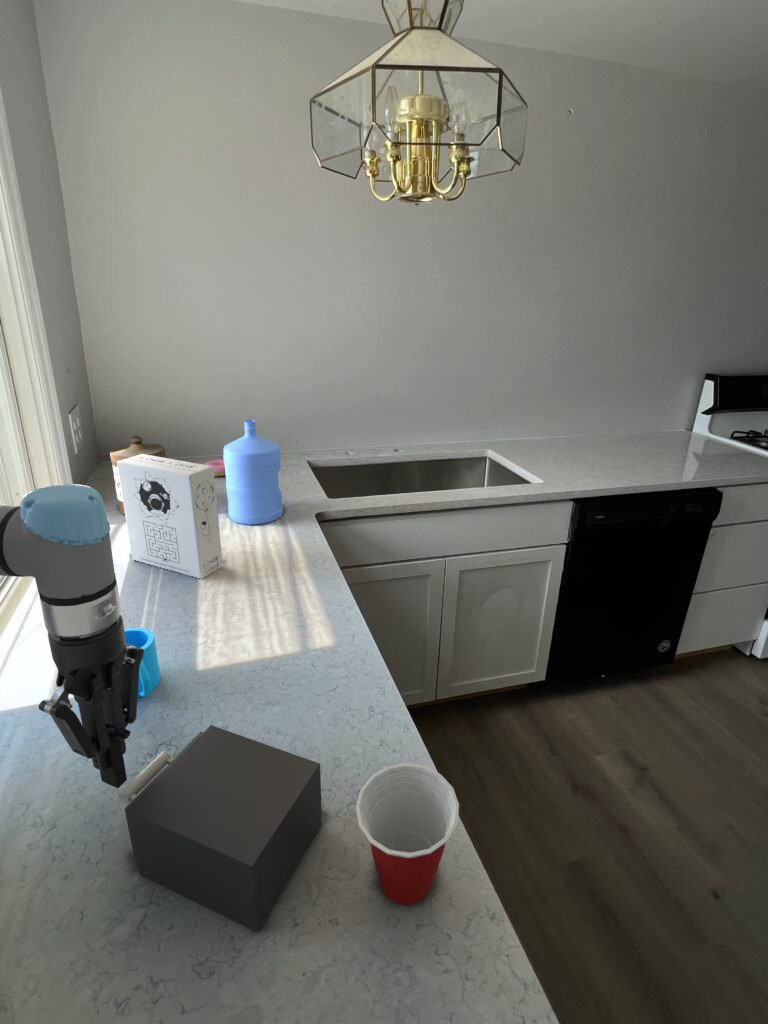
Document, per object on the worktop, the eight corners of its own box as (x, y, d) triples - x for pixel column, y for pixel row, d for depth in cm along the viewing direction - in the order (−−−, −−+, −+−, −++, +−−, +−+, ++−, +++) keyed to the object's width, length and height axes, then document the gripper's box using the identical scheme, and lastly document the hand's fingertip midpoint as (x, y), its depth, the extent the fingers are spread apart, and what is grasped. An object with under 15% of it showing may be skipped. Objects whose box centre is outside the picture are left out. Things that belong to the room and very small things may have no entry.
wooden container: (112, 506, 167) (100, 435, 159) (161, 496, 177) (152, 428, 169) (130, 521, 157) (118, 445, 149) (180, 509, 167) (172, 437, 159)
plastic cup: (335, 879, 63) (334, 801, 58) (402, 821, 70) (405, 747, 65) (405, 957, 55) (410, 874, 51) (471, 883, 63) (480, 804, 58)
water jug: (257, 530, 153) (250, 430, 143) (217, 518, 161) (208, 422, 151) (294, 513, 166) (290, 420, 156) (255, 502, 173) (249, 413, 163)
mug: (101, 680, 93) (92, 639, 90) (150, 661, 98) (144, 622, 95) (124, 719, 85) (116, 676, 82) (176, 697, 90) (170, 654, 87)
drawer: (105, 846, 65) (94, 795, 62) (181, 767, 76) (174, 721, 73) (241, 911, 58) (235, 858, 55) (302, 815, 69) (300, 766, 66)
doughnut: (214, 480, 192) (213, 468, 191) (197, 473, 199) (196, 461, 198) (241, 473, 200) (240, 462, 198) (224, 467, 207) (223, 456, 205)
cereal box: (223, 566, 133) (214, 465, 124) (201, 579, 126) (189, 475, 117) (155, 548, 141) (142, 453, 132) (131, 560, 135) (115, 461, 126)
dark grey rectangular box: (139, 874, 63) (126, 810, 59) (217, 782, 75) (210, 724, 71) (258, 932, 57) (252, 866, 54) (322, 823, 69) (320, 763, 66)
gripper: (57, 663, 55) (93, 833, 64) (154, 602, 67) (174, 754, 75) (5, 644, 58) (47, 810, 66) (107, 588, 69) (131, 736, 78)
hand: (114, 780), depth 71 cm, fingers closed
